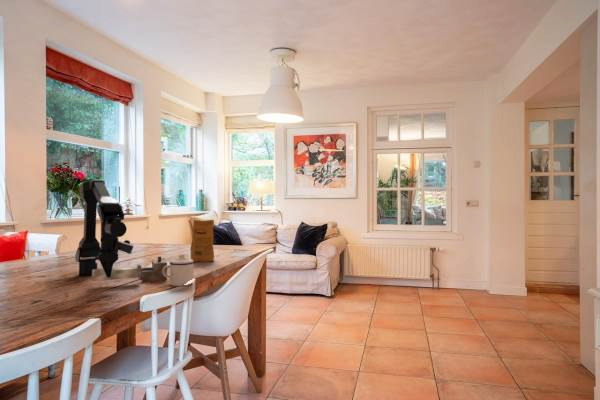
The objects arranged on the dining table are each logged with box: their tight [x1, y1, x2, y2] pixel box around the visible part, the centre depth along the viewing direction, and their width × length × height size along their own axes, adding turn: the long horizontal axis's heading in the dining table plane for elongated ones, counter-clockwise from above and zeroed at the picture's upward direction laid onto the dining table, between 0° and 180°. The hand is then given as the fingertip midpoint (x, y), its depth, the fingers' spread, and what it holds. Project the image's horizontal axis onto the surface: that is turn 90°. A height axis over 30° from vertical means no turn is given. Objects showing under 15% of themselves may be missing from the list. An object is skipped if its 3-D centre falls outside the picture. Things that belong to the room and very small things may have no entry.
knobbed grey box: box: [140, 255, 168, 282], centre depth 162 cm, size 9×9×9 cm
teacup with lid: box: [163, 253, 195, 287], centre depth 153 cm, size 12×9×12 cm
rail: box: [91, 263, 142, 282], centre depth 149 cm, size 17×4×5 cm, turn 116°
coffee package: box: [190, 219, 215, 263], centre depth 208 cm, size 10×12×22 cm
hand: (108, 276), depth 148 cm, fingers closed on rail, 4 cm apart
